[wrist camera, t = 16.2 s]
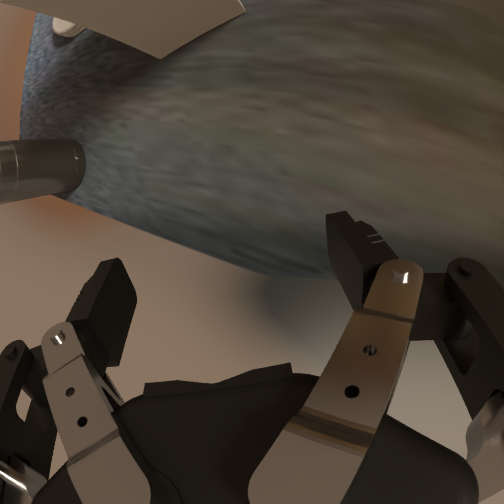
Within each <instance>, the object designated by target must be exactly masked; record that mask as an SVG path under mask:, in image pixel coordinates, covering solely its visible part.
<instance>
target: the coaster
mask: <svg viewBox="0 0 504 504" xmlns="http://www.w3.org/2000/svg"><path fill="white" fill-rule="evenodd" d="M84 29H85V27H82V26H79V25H76V24H74V23H71V22H68V21H65V20H62V19H59V18H56V17H54V18H53V30H54V32H55V33H56V34H58V35H62V36H65V37H73V36H76V35H78V34H79V33H81V32H82V31H83V30H84Z"/></svg>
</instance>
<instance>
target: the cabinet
mask: <svg viewBox="0 0 504 504" xmlns="http://www.w3.org/2000/svg"><path fill="white" fill-rule="evenodd" d="M0 2H1V3H5V4H9V5H13V6H17V7H22V8H25V9H29V10H33V11H36V12H39V13H43V14H46V15H49V16H53V17H56V18H59V19H62V20H65V21H68V22H71V23H74V24H76V25H79V26H82V27H85V28H87V29H90V30H93V31H95V32H98V33H101V34H103V35H106V36H108V37H111V38H113V39H116V40H118V41H120V42H123V43H125V44H127V45H130V46H132V47H134V48H136V49H139V50H141V51H143V52H145V53H148V54H150V55H152V56H154V57H156V58H158V59H160V60H161V59H162V58H164V57H165V56H167V55H168V54H170V53H171V52H173V51H175V50H176V49H178V48H180V47H181V46H183V45H184V44H186V43H188V42H190V41H191V40H193V39H195V38H196V37H198V36H200V35H202V34H204V33H205V32H207V31H209V30H211V29H213V28H215V27H217V26H218V25H220V24H222V23H224V22H226V21H228V20H230V19H232V18H234V17H236V16H238V15H241V14H243V13H245V12H246V10H245V9H244V7H243V5H242V4H241V2H240V0H0Z"/></svg>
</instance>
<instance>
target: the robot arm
mask: <svg viewBox="0 0 504 504" xmlns="http://www.w3.org/2000/svg"><path fill="white" fill-rule="evenodd" d="M84 171H85V156H84V152H83V149H82V147H81V146H80V144H79V143H78V142H77V141H75V140H73V139H37V140H14V141H0V205H1V204H6V203H9V202H14V201H19V200H24V199H29V198H34V197H39V196H44V195H49V194H55V193H61V192H67V191H71V190H74V189H75V188H77V186H78V185H79V184H80V182H81V181H82V178H83V175H84ZM326 231H327V245H328V255H329V260H330V263H331V266H332V268H333V270H334V272H335V274H336V276H337V278H338V280H339V282H340V284H341V286H342V288H343V290H344V292H345V294H346V296H347V298H348V300H349V302H350V304H351V306H352V308H353V310H354V312H353V313H352V316H351V318H350V320H349V322H348V324H347V326H346V328H345V330H344V332H343V334H342V336H341V338H340V340H339V342H338V344H337V346H336V348H335V350H334V352H333V354H332V356H331V358H330V360H329V361H328V363H327V365H326V367H325V369H324V371H323V372H322V374H321V376H320V377H319V376H315V375H310V374H302V373H292V368H291V364H290V363H285V364H280V365H275V366H270V367H265V368H259V369H253V370H251V371H248V372H245V373H243V374H240V375H237V376H235V377H232V378H229V379H227V380H224V381H221V382H218V383H213V384H209V383H198V382H188V381H180V380H174V381H164V382H153V383H145V386H144V392H143V395H140V396H137V397H135V398H133V399H131V400H129V401H127V402H126V403H125V402H124V401H123V399H122V397H121V396H120V394H119V393H118V391H117V389H116V388H115V386H114V384H113V382H112V381H111V379H110V377H109V376H108V374H107V373H106V372H105V371H106V368H107V367H114V366H119V364H120V360H121V356H122V353H123V349H124V345H125V342H126V338H127V334H128V331H129V328H130V324H131V321H132V317H133V314H134V311H135V308H136V304H137V296H136V291H135V289H134V286H133V284H132V282H131V280H130V278H129V276H128V274H127V272H126V269H125V267H124V265H123V263H122V261H121V260H120V259H119V258H114V259H110V260H106V261H102V262H100V264H99V265H98V267H97V269H96V271H95V273H94V275H93V276H92V277H91V278H90V279H89V280H88V281H87V282H86V283H85V284H84V286H83V288H82V290H81V291H80V294H79V295H78V297H77V299H76V302H75V303H74V305H73V307H72V309H71V311H70V313H69V315H68V317H67V319H66V321H65V322H61V323H58V324H56V325H54V326H53V327H51V328H50V329H49V330H48V331H47V332H46V333H45V335H44V336H43V338H42V341H41V345H40V346H37V347H35V348H32V349H29V348H28V347H27V345H26V344H25V343H24V342H23V341H22V340H16V341H13V342H11V343H10V344H9V345H7V346H6V347H5V349H4V350H3V351H2V353H1V355H0V504H478V503H479V502H481V501H483V500H485V499H487V498H488V497H490V496H492V495H494V494H496V493H497V492H499V491H501V490H502V489H504V289H503V288H502V286H501V285H500V284H499V283H498V282H497V281H496V279H495V278H494V277H493V276H492V275H491V274H490V273H489V271H488V270H487V269H486V268H485V267H484V266H483V265H482V264H481V263H479V262H477V261H475V260H473V259H469V258H457V259H454V260H452V261H451V262H450V263H449V264H448V268H447V273H423V270H422V269H421V267H420V266H419V265H418V264H416V263H414V262H412V261H410V260H406V259H399V258H398V256H397V255H396V254H395V253H394V252H393V250H392V249H391V248H390V247H389V246H388V244H387V243H386V242H385V241H383V238H382V237H381V236H380V235H378V233H377V231H376V230H375V229H374V228H373V227H372V226H371V225H369V224H367V223H365V222H363V221H358V222H355V221H354V220H353V219H352V217H351V216H350V215H349V214H348V213H347V212H346V211H342V212H336V213H331V214H327V215H326ZM414 340H415V341H417V340H434V342H435V344H436V345H437V347H438V349H439V351H440V353H441V355H442V357H443V359H444V361H445V363H446V365H447V367H448V369H449V371H450V373H451V375H452V377H453V379H454V381H455V383H456V385H457V387H458V389H459V391H460V394H461V396H462V398H463V400H464V402H465V405H466V407H467V409H468V412H469V414H470V416H471V418H472V422H471V423H470V425H469V427H468V429H467V432H466V443H467V448H468V454H467V459H466V460H465V459H464V458H463V457H461V456H460V455H459V454H457V453H456V452H454V451H452V450H450V449H448V448H446V447H444V446H443V445H441V444H439V443H437V442H435V441H433V440H431V439H430V438H428V437H426V436H424V435H422V434H421V433H419V432H417V431H415V430H413V429H412V428H410V427H408V426H406V425H405V424H403V423H401V422H399V421H398V420H396V419H394V418H392V417H391V416H389V415H387V412H388V409H389V406H390V404H391V401H392V398H393V395H394V392H395V389H396V386H397V383H398V379H399V377H400V374H401V371H402V367H403V364H404V361H405V358H406V354H407V350H408V347H409V344H410V341H414ZM21 389H22V390H23V391H24V392H25V393H26V394H27V395H28V396H29V397H30V398H31V399H32V400H31V403H30V406H29V410H28V413H27V417H26V420H25V422H24V421H23V420H22V419H21V418H20V417H19V416H18V414H17V411H16V403H17V400H18V397H19V394H20V391H21ZM57 431H58V432H59V435H60V438H61V440H62V443H63V445H64V448H65V451H66V453H67V456H68V461H67V462H66V463H65V464H64V465H63V466H62V467H61V468H60V469H59V470H58V471H57V472H56V473H55V474H54V475H53V476H52V477H51V479H49V473H50V467H51V461H52V456H53V450H54V445H55V441H56V436H57ZM48 479H49V480H48Z"/></svg>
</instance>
